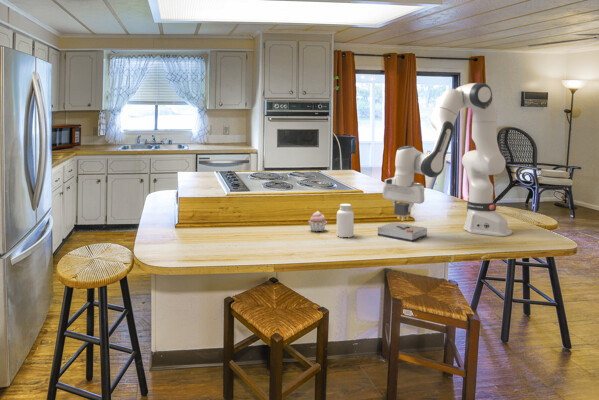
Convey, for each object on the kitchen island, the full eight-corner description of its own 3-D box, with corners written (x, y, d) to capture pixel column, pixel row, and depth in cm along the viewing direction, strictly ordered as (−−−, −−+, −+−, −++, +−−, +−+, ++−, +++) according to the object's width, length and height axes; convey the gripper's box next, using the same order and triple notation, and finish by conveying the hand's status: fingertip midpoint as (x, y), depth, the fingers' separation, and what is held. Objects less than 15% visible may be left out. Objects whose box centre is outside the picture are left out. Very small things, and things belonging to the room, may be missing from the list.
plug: (409, 219, 227) (410, 203, 226) (403, 221, 223) (404, 205, 222) (400, 217, 230) (401, 202, 229) (393, 219, 226) (394, 203, 225)
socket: (426, 236, 227) (427, 226, 227) (411, 242, 217) (412, 232, 216) (393, 230, 239) (393, 221, 238) (377, 235, 229) (377, 225, 228)
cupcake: (322, 228, 244) (323, 208, 242) (329, 232, 235) (330, 212, 234) (305, 229, 241) (305, 209, 239) (311, 233, 232) (311, 213, 231)
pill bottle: (355, 234, 231) (355, 203, 228) (351, 238, 223) (351, 206, 220) (338, 233, 233) (339, 202, 230) (334, 237, 226) (334, 205, 223)
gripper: (427, 182, 219) (426, 212, 222) (388, 178, 233) (387, 207, 235) (421, 184, 215) (419, 214, 217) (381, 179, 228) (380, 208, 230)
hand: (402, 210), depth 226 cm, fingers closed on plug, 5 cm apart
